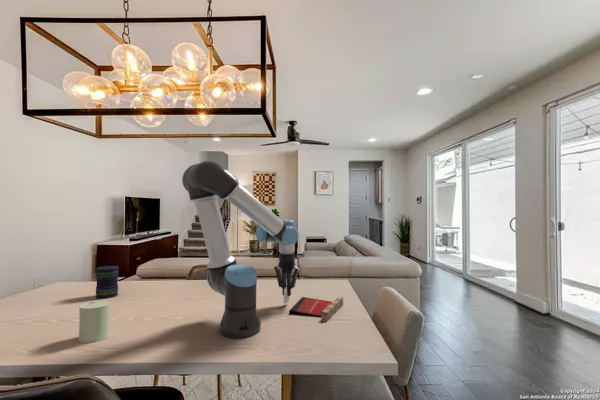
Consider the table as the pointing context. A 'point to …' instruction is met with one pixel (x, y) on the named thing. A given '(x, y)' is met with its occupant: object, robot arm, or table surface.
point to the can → (94, 321)
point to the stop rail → (332, 309)
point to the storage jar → (107, 282)
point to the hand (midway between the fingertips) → (286, 302)
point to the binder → (309, 307)
